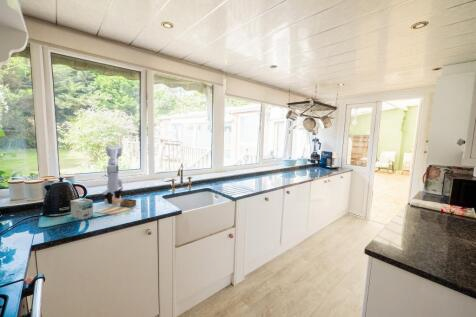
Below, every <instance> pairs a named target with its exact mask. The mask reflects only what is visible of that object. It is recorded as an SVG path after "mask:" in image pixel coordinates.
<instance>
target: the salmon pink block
mask: <svg viewBox="0 0 476 317" xmlns="http://www.w3.org/2000/svg"><path fill="white" fill-rule="evenodd" d="M123 199H124V198H122V197H121V198H114V197H112V204H111V205H118V204H120V202H122V201H123ZM104 203H105V204H108V201H107V199H106V198H105V199H104Z"/></svg>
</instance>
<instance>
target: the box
mask: <svg viewBox="0 0 476 317" xmlns="http://www.w3.org/2000/svg"><path fill="white" fill-rule="evenodd" d="M119 204H120V205H119V206H120V207H128V208H134V207H135V206H137V199H134V198H123V201H122V202H120V203H119Z"/></svg>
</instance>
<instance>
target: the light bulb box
mask: <svg viewBox="0 0 476 317" xmlns="http://www.w3.org/2000/svg"><path fill="white" fill-rule="evenodd" d="M93 204H94V202H93V199H88V198H84V197H83V198H82V197H80V198H76V199H72V200H70V217H71V218H73V217H74V219H79V220H85V219H89V218H92V217H94V205H93ZM91 216H92V217H91ZM88 217H89V218H88Z"/></svg>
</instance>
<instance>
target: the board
mask: <svg viewBox="0 0 476 317" xmlns="http://www.w3.org/2000/svg"><path fill="white" fill-rule="evenodd" d="M134 209H135V208H134V207H125V206H120V205H119V206H118V205H111V206H108V207H105V208H102V209H100V210H97V211H95V212H94V213H96V214H103V215H112V216H120V215H123V214H124V213H127V212H129V211H131V210H134Z"/></svg>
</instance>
